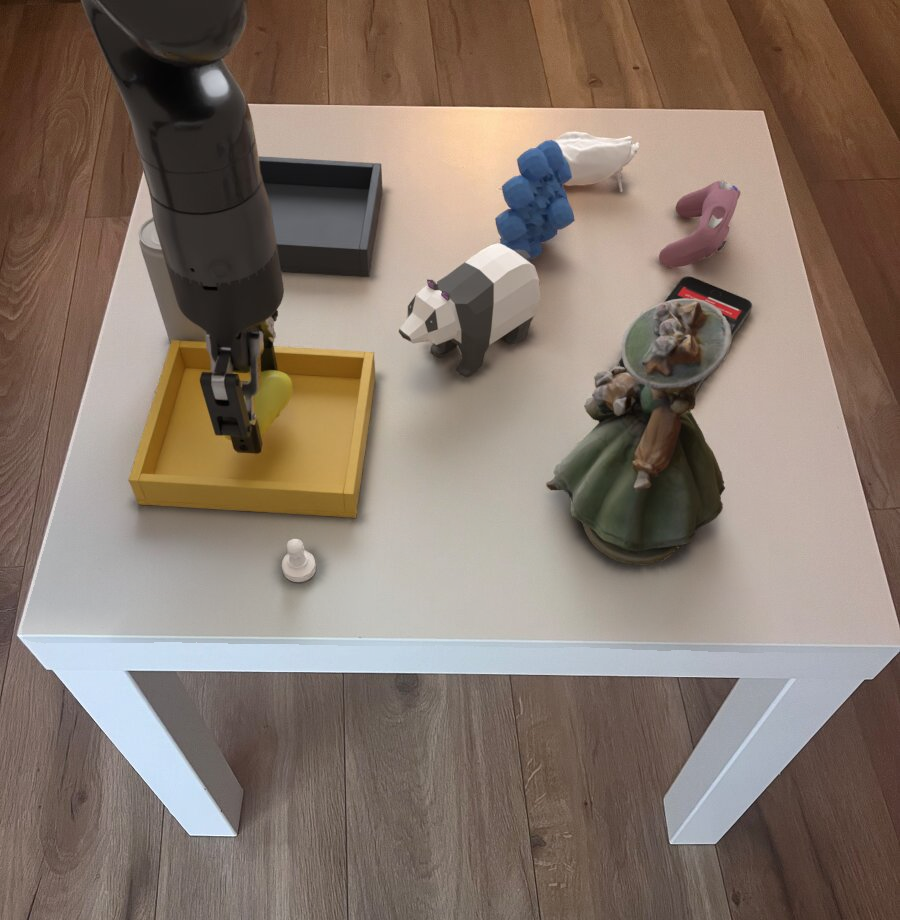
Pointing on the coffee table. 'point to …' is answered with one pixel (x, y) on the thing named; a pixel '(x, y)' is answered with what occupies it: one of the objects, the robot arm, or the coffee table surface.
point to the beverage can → (165, 288)
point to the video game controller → (703, 224)
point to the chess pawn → (298, 562)
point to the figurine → (649, 438)
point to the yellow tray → (284, 444)
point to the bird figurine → (595, 157)
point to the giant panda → (476, 306)
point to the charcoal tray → (323, 213)
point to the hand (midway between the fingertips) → (257, 412)
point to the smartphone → (723, 300)
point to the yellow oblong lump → (271, 398)
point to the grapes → (536, 200)
